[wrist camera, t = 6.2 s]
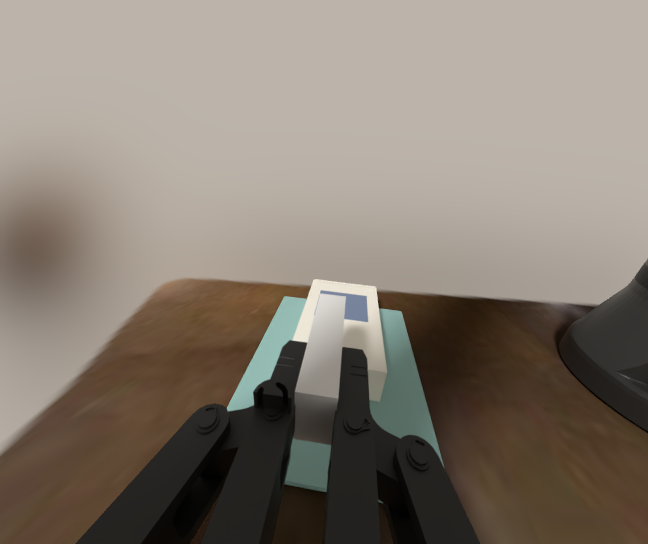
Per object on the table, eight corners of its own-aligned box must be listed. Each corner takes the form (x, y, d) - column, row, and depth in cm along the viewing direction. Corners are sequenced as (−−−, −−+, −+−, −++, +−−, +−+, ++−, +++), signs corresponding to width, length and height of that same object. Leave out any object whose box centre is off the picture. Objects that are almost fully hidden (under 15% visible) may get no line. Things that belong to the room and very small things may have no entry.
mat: (400, 314, 29) (401, 311, 29) (454, 517, 13) (456, 513, 13) (284, 299, 30) (284, 296, 30) (199, 467, 14) (198, 463, 14)
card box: (379, 401, 18) (371, 309, 29) (387, 372, 17) (375, 286, 27) (286, 386, 18) (312, 301, 29) (286, 357, 17) (313, 278, 28)
